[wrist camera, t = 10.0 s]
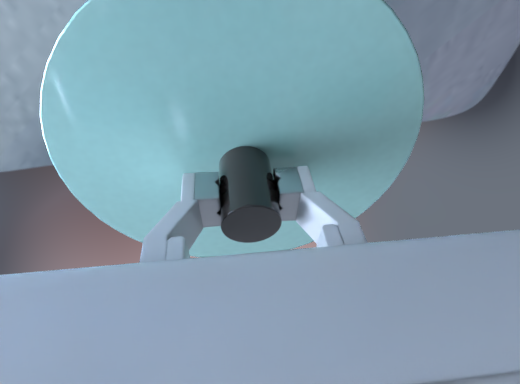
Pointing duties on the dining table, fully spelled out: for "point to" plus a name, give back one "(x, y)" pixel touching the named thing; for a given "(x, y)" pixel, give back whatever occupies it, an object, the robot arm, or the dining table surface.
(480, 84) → the dining table surface
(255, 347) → the robot arm
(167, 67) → the lid
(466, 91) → the dining table surface
